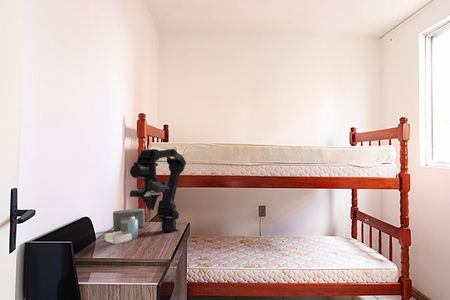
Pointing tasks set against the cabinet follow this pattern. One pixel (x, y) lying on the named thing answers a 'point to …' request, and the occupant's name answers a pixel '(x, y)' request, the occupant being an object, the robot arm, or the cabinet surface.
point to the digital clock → (127, 218)
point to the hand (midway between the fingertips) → (151, 210)
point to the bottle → (133, 227)
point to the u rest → (117, 237)
